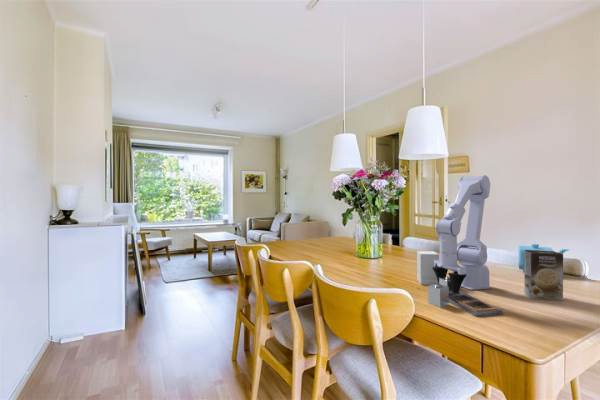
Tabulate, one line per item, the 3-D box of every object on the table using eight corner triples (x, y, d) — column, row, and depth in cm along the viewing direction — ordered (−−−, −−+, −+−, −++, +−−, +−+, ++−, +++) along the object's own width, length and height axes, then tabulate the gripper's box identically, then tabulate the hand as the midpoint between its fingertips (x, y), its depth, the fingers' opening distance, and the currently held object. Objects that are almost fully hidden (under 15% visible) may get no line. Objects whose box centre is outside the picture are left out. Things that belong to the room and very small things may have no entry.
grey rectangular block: (450, 293, 110) (450, 275, 110) (458, 297, 105) (458, 279, 105) (439, 293, 109) (439, 276, 109) (447, 298, 105) (447, 279, 105)
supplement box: (439, 285, 119) (439, 254, 119) (420, 284, 120) (419, 254, 120) (435, 280, 126) (434, 251, 126) (417, 279, 128) (416, 250, 128)
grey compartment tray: (451, 290, 112) (451, 286, 112) (502, 313, 90) (502, 309, 90) (430, 292, 111) (430, 288, 111) (476, 316, 88) (475, 311, 88)
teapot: (519, 273, 134) (519, 245, 133) (518, 266, 146) (518, 240, 146) (573, 279, 123) (573, 248, 123) (566, 271, 136) (566, 243, 136)
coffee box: (531, 299, 102) (530, 252, 101) (523, 293, 108) (523, 249, 108) (564, 301, 99) (563, 254, 98) (554, 295, 105) (554, 250, 105)
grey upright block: (436, 300, 102) (436, 282, 102) (448, 305, 98) (448, 285, 98) (428, 303, 100) (427, 284, 100) (440, 307, 96) (439, 287, 96)
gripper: (426, 249, 114) (427, 284, 114) (451, 256, 99) (452, 296, 99) (443, 248, 115) (443, 283, 115) (470, 255, 100) (470, 295, 101)
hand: (448, 289), depth 107 cm, fingers open, 7 cm apart
